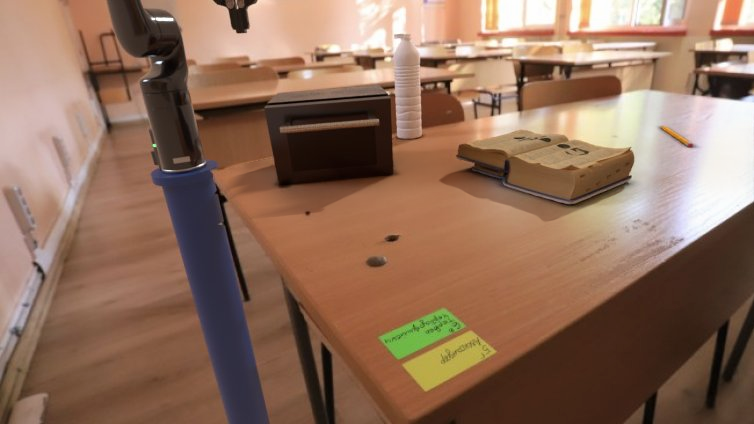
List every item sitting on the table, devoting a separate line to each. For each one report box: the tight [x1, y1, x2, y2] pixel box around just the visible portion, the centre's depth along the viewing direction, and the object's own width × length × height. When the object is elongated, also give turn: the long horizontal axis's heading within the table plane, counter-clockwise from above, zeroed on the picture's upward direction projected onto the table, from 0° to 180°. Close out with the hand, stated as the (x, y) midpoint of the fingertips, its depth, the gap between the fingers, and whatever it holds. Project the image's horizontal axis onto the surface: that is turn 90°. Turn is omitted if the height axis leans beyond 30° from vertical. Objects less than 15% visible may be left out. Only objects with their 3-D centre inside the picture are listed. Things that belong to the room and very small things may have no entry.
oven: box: [266, 84, 389, 106], centre depth 86 cm, size 16×22×15 cm
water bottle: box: [392, 33, 423, 140], centre depth 104 cm, size 9×6×25 cm
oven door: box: [263, 95, 394, 186], centre depth 75 cm, size 6×22×15 cm, turn 95°
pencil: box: [661, 125, 694, 148], centre depth 93 cm, size 1×19×1 cm, turn 163°
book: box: [455, 129, 635, 205], centre depth 73 cm, size 25×17×6 cm
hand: (241, 33), depth 71 cm, fingers closed
